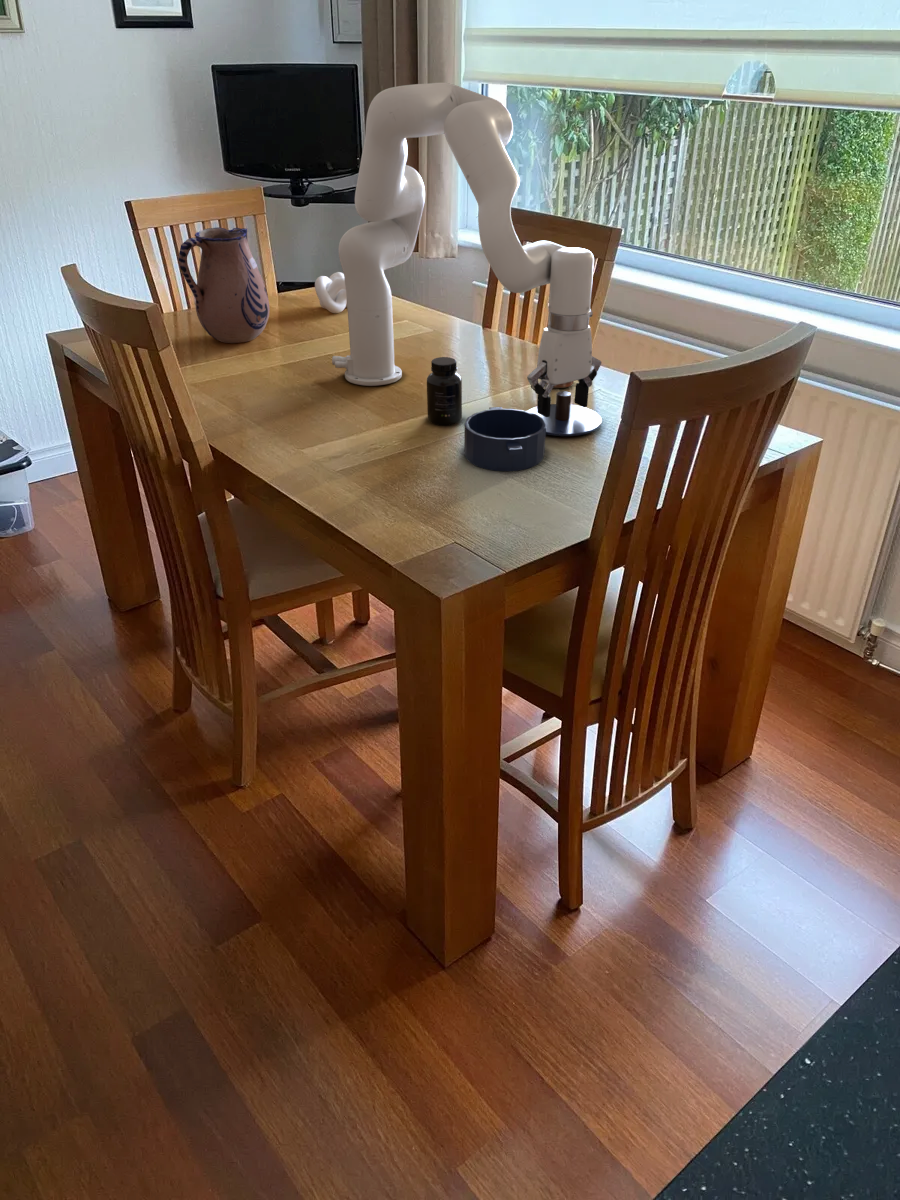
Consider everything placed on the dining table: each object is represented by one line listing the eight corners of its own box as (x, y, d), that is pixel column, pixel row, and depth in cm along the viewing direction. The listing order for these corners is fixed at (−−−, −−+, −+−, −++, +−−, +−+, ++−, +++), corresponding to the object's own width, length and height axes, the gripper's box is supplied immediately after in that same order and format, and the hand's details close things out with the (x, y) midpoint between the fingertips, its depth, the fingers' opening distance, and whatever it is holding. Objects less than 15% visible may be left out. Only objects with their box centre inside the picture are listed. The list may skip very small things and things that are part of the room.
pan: (473, 480, 154) (474, 448, 151) (457, 435, 170) (457, 405, 167) (555, 475, 156) (557, 443, 152) (531, 431, 172) (533, 401, 169)
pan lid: (531, 441, 168) (533, 410, 165) (515, 411, 181) (516, 381, 177) (611, 436, 170) (614, 406, 166) (589, 407, 182) (592, 378, 179)
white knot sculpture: (339, 318, 236) (336, 283, 231) (304, 311, 241) (301, 277, 236) (365, 308, 244) (363, 274, 239) (331, 302, 249) (328, 268, 244)
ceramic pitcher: (287, 334, 224) (276, 228, 210) (227, 358, 209) (211, 245, 195) (236, 324, 232) (222, 221, 218) (175, 345, 217) (155, 236, 203)
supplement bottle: (426, 414, 180) (425, 355, 173) (460, 412, 180) (460, 354, 173) (428, 427, 174) (427, 367, 167) (463, 426, 174) (463, 365, 168)
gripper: (591, 308, 171) (584, 395, 180) (518, 322, 163) (514, 413, 172) (618, 317, 165) (609, 407, 175) (543, 333, 158) (538, 425, 167)
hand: (562, 409), depth 174 cm, fingers open, 8 cm apart
